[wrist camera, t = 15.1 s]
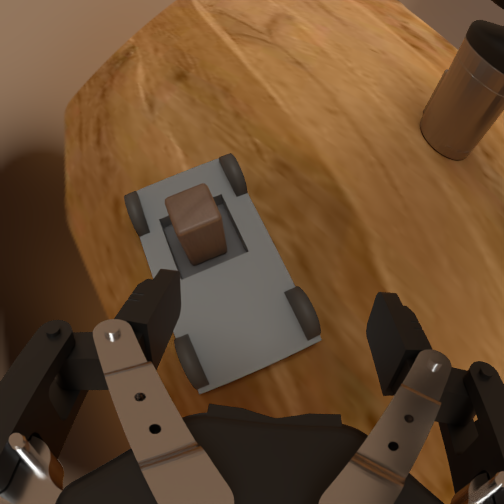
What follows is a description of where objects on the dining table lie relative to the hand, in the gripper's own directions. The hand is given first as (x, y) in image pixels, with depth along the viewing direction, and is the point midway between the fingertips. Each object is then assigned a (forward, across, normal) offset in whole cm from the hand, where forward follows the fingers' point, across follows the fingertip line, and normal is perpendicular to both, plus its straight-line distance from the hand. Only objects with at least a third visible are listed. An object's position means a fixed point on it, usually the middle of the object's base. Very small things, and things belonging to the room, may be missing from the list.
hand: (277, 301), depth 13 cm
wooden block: (+20, +7, +7) cm, 22 cm away
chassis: (+18, +6, +9) cm, 21 cm away
